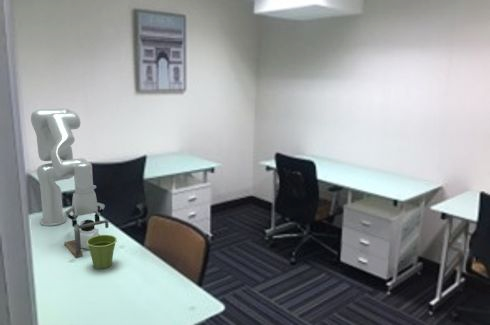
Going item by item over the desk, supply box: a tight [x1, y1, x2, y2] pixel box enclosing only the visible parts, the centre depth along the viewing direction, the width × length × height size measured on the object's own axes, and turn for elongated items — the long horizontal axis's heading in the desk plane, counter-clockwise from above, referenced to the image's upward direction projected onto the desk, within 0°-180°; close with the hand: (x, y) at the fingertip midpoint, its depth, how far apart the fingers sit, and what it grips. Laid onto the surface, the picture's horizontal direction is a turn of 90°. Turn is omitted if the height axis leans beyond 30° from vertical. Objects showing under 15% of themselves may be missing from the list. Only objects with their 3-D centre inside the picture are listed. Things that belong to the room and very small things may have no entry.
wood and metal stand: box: [63, 219, 109, 259], centre depth 183 cm, size 16×16×14 cm
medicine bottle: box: [79, 219, 99, 249], centre depth 183 cm, size 7×7×12 cm
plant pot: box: [86, 234, 118, 270], centre depth 167 cm, size 12×12×11 cm
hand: (86, 225), depth 183 cm, fingers open, 9 cm apart
